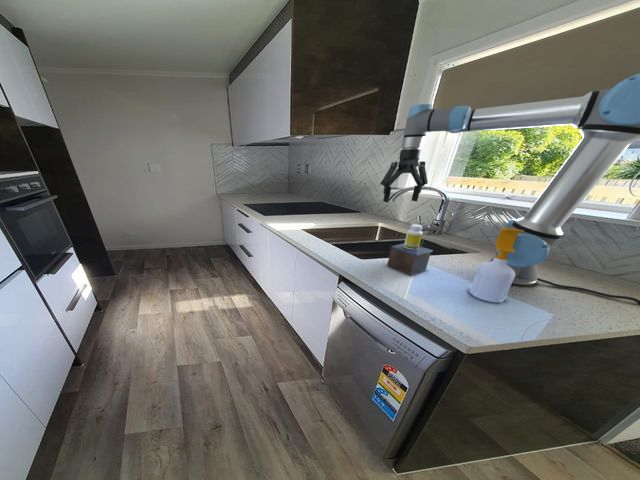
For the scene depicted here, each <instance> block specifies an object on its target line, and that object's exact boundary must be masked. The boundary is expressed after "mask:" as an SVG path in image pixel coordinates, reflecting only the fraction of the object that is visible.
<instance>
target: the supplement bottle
mask: <svg viewBox="0 0 640 480" xmlns="http://www.w3.org/2000/svg"><path fill="white" fill-rule="evenodd" d="M409 228H410V229H408V230H407V231H406V236H405V240H404V242H403V243H404V247H405V248H406V249H410V250H417V249H418V248H419V246H421V245H420V244H421V242H422V241H421V240H422V238H423V233H424V232H423V231H422V229H423V225H421V224H416V223H415V224H414V223H413V224H410V227H409Z"/></svg>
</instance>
